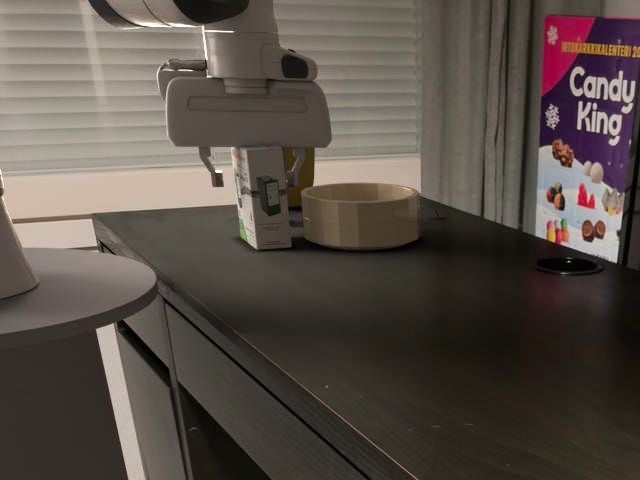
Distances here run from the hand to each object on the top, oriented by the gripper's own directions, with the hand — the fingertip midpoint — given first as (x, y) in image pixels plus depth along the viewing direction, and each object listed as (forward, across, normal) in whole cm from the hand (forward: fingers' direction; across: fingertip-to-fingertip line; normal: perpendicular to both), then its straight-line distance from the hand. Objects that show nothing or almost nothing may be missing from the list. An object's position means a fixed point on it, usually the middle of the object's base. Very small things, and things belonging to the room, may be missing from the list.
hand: (255, 186), depth 119 cm
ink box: (+7, +1, 0) cm, 7 cm away
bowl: (+7, +14, 0) cm, 15 cm away
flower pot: (+7, +5, +27) cm, 28 cm away
